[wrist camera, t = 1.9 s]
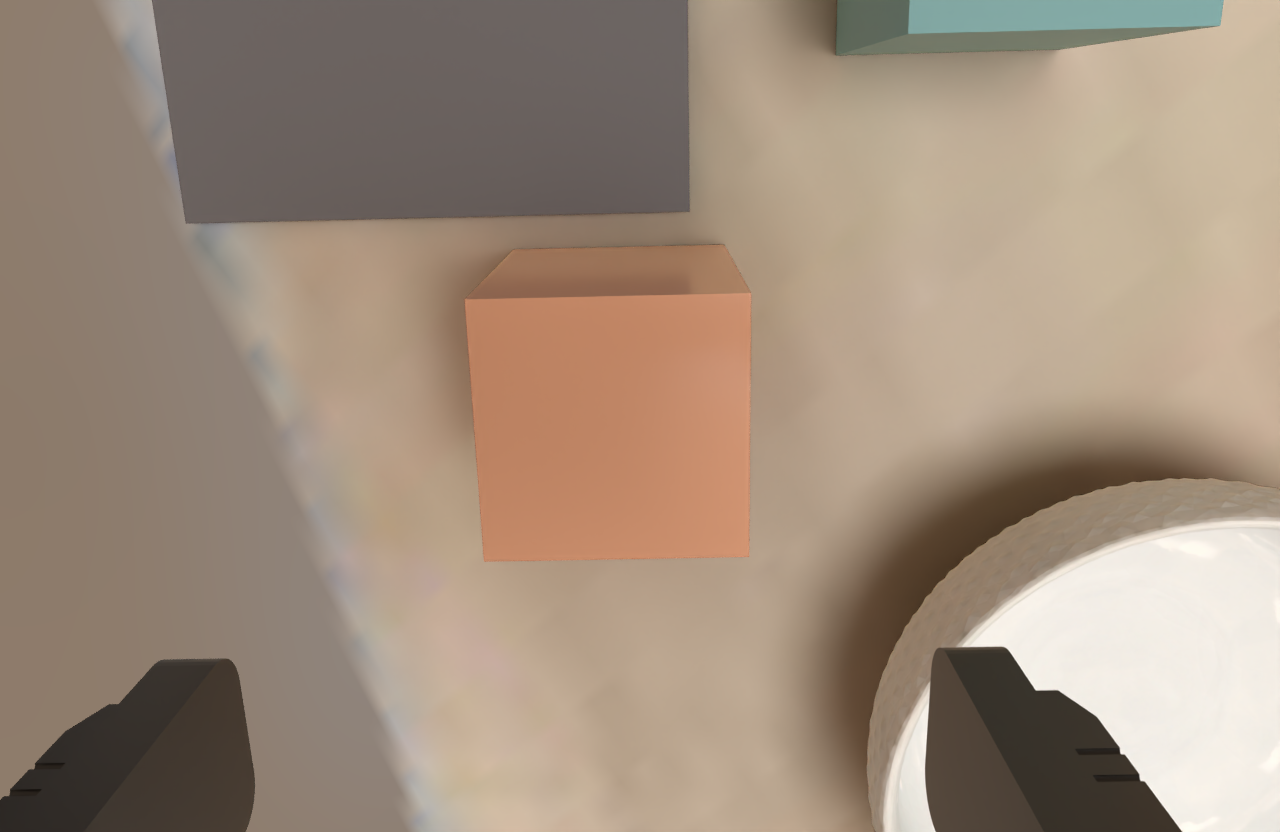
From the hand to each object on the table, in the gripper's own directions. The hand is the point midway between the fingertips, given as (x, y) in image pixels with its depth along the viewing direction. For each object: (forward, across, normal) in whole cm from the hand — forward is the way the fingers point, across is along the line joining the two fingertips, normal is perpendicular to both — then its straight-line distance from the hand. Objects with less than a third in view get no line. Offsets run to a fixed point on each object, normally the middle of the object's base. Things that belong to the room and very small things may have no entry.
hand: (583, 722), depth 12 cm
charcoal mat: (+19, +5, -11) cm, 22 cm away
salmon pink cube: (+19, 0, 0) cm, 19 cm away
